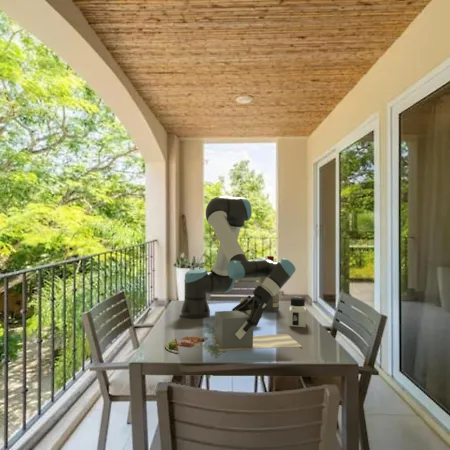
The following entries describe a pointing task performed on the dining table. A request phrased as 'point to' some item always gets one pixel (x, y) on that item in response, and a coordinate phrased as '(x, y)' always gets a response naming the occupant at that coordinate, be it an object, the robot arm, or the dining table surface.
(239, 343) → the grey matte cube
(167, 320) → the dining table surface
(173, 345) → the food
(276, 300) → the liquor
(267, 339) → the board
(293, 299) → the container
